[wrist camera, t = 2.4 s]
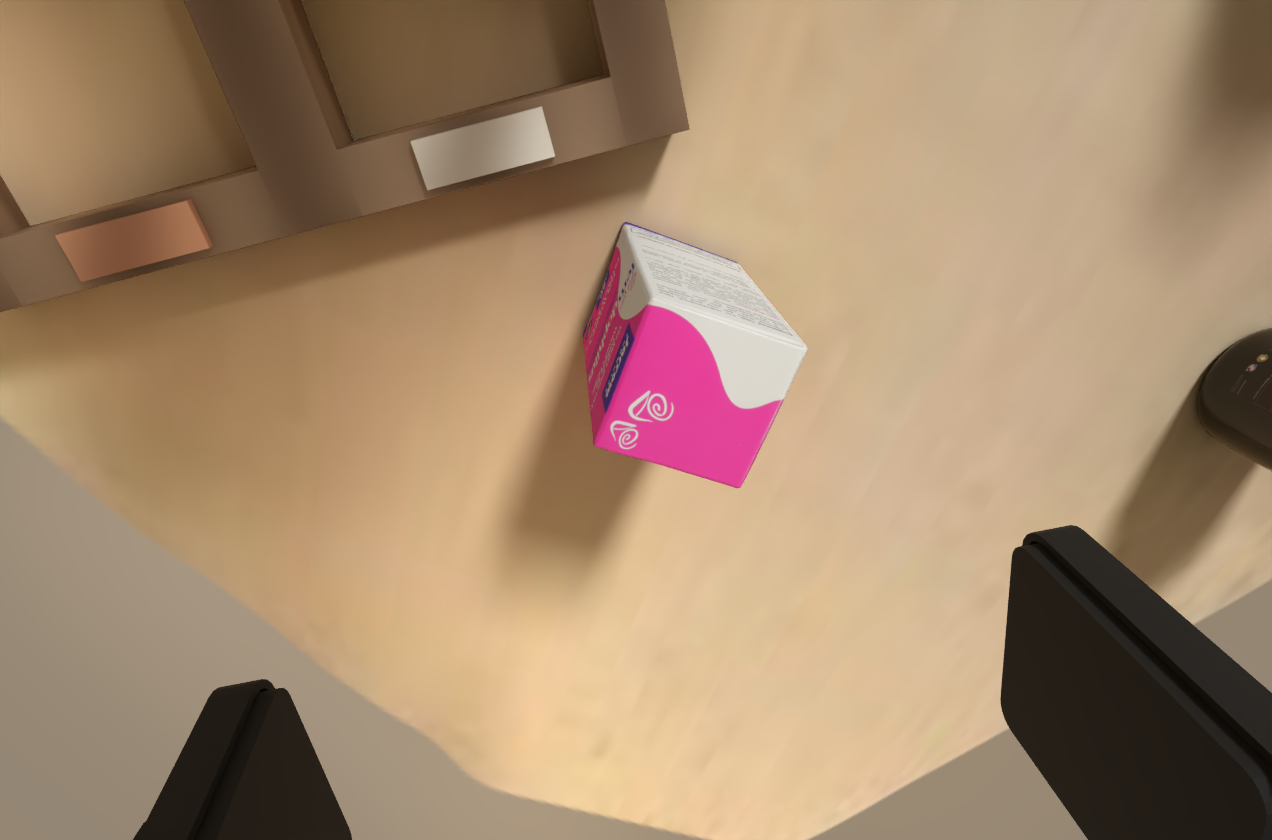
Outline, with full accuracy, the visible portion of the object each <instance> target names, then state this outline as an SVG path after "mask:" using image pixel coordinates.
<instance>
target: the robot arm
mask: <svg viewBox="0 0 1272 840" xmlns="http://www.w3.org/2000/svg"><path fill="white" fill-rule="evenodd" d="M1001 707H1002V712H1003V715H1004V718H1005V720H1006V722H1007V725H1008V726H1009V728H1010V730H1011V731H1012V733H1013V734H1014V735H1015V737H1016V738H1017V740H1018V741H1019V742H1020V744H1021V745H1022V747H1023V748H1024V750H1026V752H1027V754H1028V755H1029V757H1030V758H1031V759H1032V761H1033V762H1034V764H1035V765H1036V767H1037V768H1038V769H1039V771H1040V772H1041V774H1042V775H1043V776H1044V778H1045V779H1046V781H1047V782H1048V784H1049V785H1050V786H1051V788H1052V789H1053V791H1054V792H1055V793H1056V795H1057V796H1058V798H1059V799H1060V800H1061V802H1062V803H1063V805H1064V806H1065V808H1066V809H1067V810H1068V812H1069V813H1070V815H1071V816H1072V817H1073V819H1074V820H1075V822H1076V823H1077V825H1078V826H1079V827H1080V829H1081V830H1082V832H1083V833H1084V835H1085V836H1086V837H1087V839H1088V840H1272V693H1271V692H1270V691H1269V690H1267V689H1266V688H1265V687H1264V686H1263V685H1261V683H1259V682H1258V681H1257V680H1256V679H1255V678H1253V676H1251V675H1250V674H1249V673H1248V672H1247V671H1245V670H1244V669H1243V668H1242V667H1241V666H1240V665H1239V664H1237V663H1236V662H1235V661H1234V660H1233V659H1232V658H1231V657H1229V656H1228V655H1227V654H1226V653H1225V652H1223V651H1222V650H1221V649H1220V648H1219V647H1218V646H1217V645H1216V644H1214V643H1213V642H1212V641H1211V640H1210V639H1209V638H1207V637H1206V636H1205V635H1204V634H1203V633H1202V632H1200V631H1199V630H1198V629H1197V628H1196V627H1194V625H1192V624H1191V623H1190V622H1189V621H1188V620H1187V619H1185V618H1184V617H1183V616H1182V615H1181V614H1180V613H1179V612H1177V611H1176V610H1175V609H1174V608H1173V607H1172V606H1170V605H1169V604H1168V603H1167V602H1166V601H1165V600H1163V599H1162V598H1161V597H1160V596H1159V595H1158V594H1157V593H1155V592H1154V591H1153V590H1152V589H1151V588H1150V587H1148V586H1147V585H1146V584H1145V583H1144V582H1143V581H1142V580H1140V579H1139V578H1138V577H1137V576H1136V575H1135V574H1133V573H1132V572H1131V571H1130V570H1129V569H1128V568H1126V567H1125V566H1124V565H1123V564H1122V563H1121V562H1120V561H1118V560H1117V559H1116V558H1115V557H1114V556H1113V555H1111V554H1110V553H1109V552H1108V551H1107V550H1106V549H1105V548H1103V547H1102V546H1101V545H1100V544H1099V543H1098V542H1096V541H1095V540H1094V539H1093V538H1092V537H1091V536H1089V535H1088V534H1087V533H1086V532H1085V531H1084V530H1082V529H1081V528H1079V527H1077V526H1072V525H1070V526H1064V527H1059V528H1054V529H1049V530H1043V531H1038V532H1033V533H1030V534H1028V535H1026V537H1025V538H1024V540H1023V545H1022V546H1021V547H1017V548H1015V550H1014V551H1013V555H1012V563H1011V575H1010V588H1009V600H1008V613H1007V625H1006V638H1005V650H1004V662H1003V675H1002V687H1001ZM133 840H352V837H351V833H350V830H349V827H348V825H347V822H346V820H345V818H344V816H343V813H342V811H341V809H340V807H339V804H338V802H337V800H336V798H335V795H334V793H333V791H332V789H331V787H330V784H329V782H328V780H327V778H326V775H325V773H324V771H323V769H322V766H321V764H320V762H319V759H318V757H317V755H316V753H315V750H314V748H313V746H312V743H311V741H310V739H309V737H308V734H307V732H306V730H305V728H304V725H303V723H302V721H301V719H300V716H299V714H298V712H297V710H296V707H295V706H294V703H293V701H292V699H291V696H290V695H289V693H288V691H287V690H286V689H284V688H278V689H275V688H274V686H273V685H272V683H271V682H269V681H268V680H264V679H261V680H256V681H251V682H246V683H240V684H235V685H230V686H225V687H220V688H217V689H216V690H214V691H213V692H212V694H211V695H210V697H209V698H208V700H207V702H206V704H205V706H204V708H203V710H202V712H201V714H200V716H199V718H198V720H197V722H196V724H195V726H194V728H193V730H192V732H191V734H190V736H189V738H188V740H187V742H186V744H185V746H184V748H183V750H182V751H181V753H180V755H179V757H178V760H177V761H176V763H175V766H174V767H173V769H172V771H171V773H170V775H169V777H168V779H167V781H166V783H165V785H164V787H163V789H162V791H161V793H160V795H159V797H158V799H157V801H156V803H155V805H154V807H153V809H152V811H151V813H150V815H149V817H148V819H147V821H146V822H145V823H143V825H142V826H141V828H140V829H139V831H138V832H137V834H136V835H135V837H134V839H133Z"/></svg>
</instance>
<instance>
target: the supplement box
mask: <svg viewBox="0 0 1272 840" xmlns="http://www.w3.org/2000/svg"><path fill="white" fill-rule="evenodd" d="M583 341H584V351H585V361H586V371H587V381H588V390H589V403H590V412H591V421H592V432H593V444H594V446H596V447H599V448H602V449H605V450H608V451H612V452H615V453H619V454H622V455H626V456H630V457H633V458H637V459H641V460H645V461H649V462H653V463H656V464H660V465H663V466H666V467H669V468H673V469H676V470H679V471H683V472H686V473H689V474H693V475H696V476H699V477H702V478H706V479H709V480H712V481H716V482H719V483H722V484H725V485H729V486H732V487H735V488H740V487H741V486H742V484H743V482H744V480H745V478H746V477H747V475H748V473H749V471H750V469H751V467H752V465H753V463H754V461H755V459H756V457H757V454H758V452H759V450H760V448H761V446H762V444H763V442H764V440H765V438H766V436H767V434H768V432H769V430H770V428H771V426H772V424H773V422H774V419H775V417H776V415H777V413H778V411H779V409H780V407H781V405H782V403H783V401H784V398H785V396H786V394H787V392H788V390H789V388H790V386H791V384H792V382H793V379H794V377H795V375H796V373H797V371H798V369H799V367H800V365H801V363H802V360H803V358H804V356H805V354H806V352H807V346H806V345H805V344H804V342H803V341H802V340H801V339H800V338H799V336H798V335H797V334H796V333H795V332H794V331H793V329H792V328H791V327H790V326H789V324H788V323H787V322H786V321H785V320H784V319H783V317H782V316H781V315H780V314H779V313H778V312H777V310H776V309H775V308H774V306H773V305H772V304H771V303H770V302H769V301H768V299H767V298H766V297H765V295H764V294H763V293H762V292H761V291H760V289H759V288H758V287H757V286H756V284H755V283H754V282H753V281H752V280H751V278H750V277H749V276H748V275H747V274H746V272H745V271H744V270H743V269H742V267H741V266H740V265H739V264H738V263H737V262H734V261H731V260H729V259H727V258H724V257H721V256H718V255H716V254H713V253H710V252H707V251H705V250H702V249H699V248H697V247H694V246H691V245H689V244H686V243H683V242H680V241H678V240H675V239H672V238H669V237H667V236H664V235H661V234H658V233H656V232H653V231H650V230H647V229H645V228H642V227H639V226H637V225H634V224H631V223H627V222H625V223H623V225H622V227H621V230H620V234H619V237H618V240H617V244H616V247H615V250H614V254H613V257H612V260H611V263H610V265H609V268H608V271H607V274H606V276H605V279H604V282H603V284H602V287H601V290H600V293H599V296H598V298H597V301H596V303H595V306H594V309H593V312H592V314H591V317H590V319H589V321H588V323H587V326H586V329H585V331H584V333H583Z"/></svg>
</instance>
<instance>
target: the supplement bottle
mask: <svg viewBox="0 0 1272 840" xmlns="http://www.w3.org/2000/svg"><path fill="white" fill-rule="evenodd" d="M1198 412H1199V417H1200V420H1201V422H1202V425H1203V427H1204V428H1205V430H1206V431H1207V432H1208V433H1209V434H1210V435H1211V436H1212V437H1213V438H1214V439H1216V440H1217V441H1219V442H1220V443H1222V444H1224V445H1226V446H1227V447H1229V448H1231V449H1232V450H1234V451H1236V452H1238V453H1239V454H1241V455H1243V456H1245V457H1247V458H1248V459H1250V460H1252V461H1254V462H1256V463H1257V464H1259V465H1261V466H1263V467H1264V468H1266V469H1268V470H1270V471H1272V328H1269V329H1265V330H1261V331H1258V332H1256V333H1253V334H1251V335H1249V336H1247V337H1245V338H1243V339H1241V340H1239V341H1238V342H1236V343H1235V344H1234V345H1232V346H1231V347H1230V348H1228V349H1227V350H1226V351H1225V352H1224V353H1223V354H1222V355H1221V356H1220V357H1219V358H1218V359H1217V360H1216V361H1215V363H1214V364H1213V365H1212V367H1211V368H1210V370H1209V371H1208V373H1207V375H1206V377H1205V379H1204V381H1203V383H1202V386H1201V389H1200V393H1199V398H1198Z"/></svg>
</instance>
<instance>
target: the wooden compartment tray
mask: <svg viewBox="0 0 1272 840" xmlns="http://www.w3.org/2000/svg"><path fill="white" fill-rule="evenodd" d="M184 2H185V5H186V7H187V9H188V11H189V14H190V16H191V18H192V20H193V23H194V25H195V27H196V30H197V32H198V34H199V36H200V39H201V41H202V43H203V46H204V48H205V50H206V52H207V55H208V57H209V59H210V62H211V64H212V66H213V68H214V71H215V73H216V75H217V78H218V80H219V82H220V84H221V87H222V89H223V91H224V93H225V96H226V98H227V100H228V103H229V105H230V107H231V109H232V112H233V114H234V116H235V119H236V121H237V123H238V125H239V128H240V130H241V132H242V135H243V137H244V139H245V141H246V144H247V146H248V148H249V151H250V153H251V155H252V157H253V160H254V162H255V164H256V166H257V167H253V168H249V169H245V170H242V171H238V172H234V173H230V174H226V175H223V176H219V177H215V178H211V179H208V180H204V181H200V182H196V183H192V184H189V185H185V186H181V187H177V188H174V189H170V190H166V191H162V192H158V193H155V194H151V195H147V196H143V197H140V198H136V199H132V200H128V201H124V202H121V203H117V204H113V205H109V206H106V207H102V208H98V209H94V210H90V211H87V212H83V213H79V214H75V215H72V216H68V217H64V218H60V219H56V220H53V221H49V222H45V223H41V224H38V225H34V226H30V225H29V224H28V222H27V220H26V219H25V217H24V215H23V213H22V212H21V210H20V208H19V207H18V205H17V203H16V201H15V200H14V198H13V196H12V195H11V193H10V191H9V189H8V188H7V186H6V184H5V183H4V181H3V179H2V177H1V176H0V312H2V311H6V310H10V309H14V308H17V307H21V306H25V305H29V304H33V303H36V302H40V301H44V300H48V299H51V298H55V297H59V296H63V295H66V294H70V293H74V292H78V291H82V290H85V289H89V288H93V287H97V286H100V285H104V284H108V283H112V282H116V281H119V280H123V279H127V278H131V277H134V276H138V275H142V274H146V273H150V272H153V271H157V270H161V269H165V268H168V267H172V266H176V265H180V264H183V263H187V262H191V261H195V260H199V259H202V258H206V257H210V256H214V255H217V254H221V253H225V252H229V251H233V250H236V249H240V248H244V247H248V246H251V245H255V244H259V243H263V242H267V241H270V240H274V239H278V238H282V237H285V236H289V235H293V234H297V233H301V232H304V231H308V230H312V229H316V228H319V227H323V226H327V225H331V224H334V223H338V222H342V221H346V220H350V219H353V218H357V217H361V216H365V215H368V214H372V213H376V212H380V211H384V210H387V209H391V208H395V207H399V206H402V205H406V204H410V203H414V202H418V201H421V200H425V199H429V198H433V197H436V196H440V195H444V194H448V193H452V192H455V191H459V190H463V189H467V188H470V187H474V186H478V185H482V184H485V183H489V182H493V181H497V180H501V179H504V178H508V177H512V176H516V175H519V174H523V173H527V172H531V171H535V170H538V169H542V168H546V167H550V166H553V165H557V164H561V163H565V162H569V161H572V160H576V159H580V158H584V157H587V156H591V155H595V154H599V153H602V152H606V151H610V150H614V149H618V148H621V147H625V146H629V145H633V144H636V143H640V142H644V141H648V140H652V139H655V138H659V137H663V136H667V135H670V134H674V133H678V132H682V131H686V130H689V124H688V119H687V114H686V109H685V104H684V98H683V93H682V88H681V83H680V78H679V73H678V67H677V62H676V57H675V52H674V47H673V42H672V36H671V31H670V26H669V21H668V16H667V10H666V5H665V0H587V2H588V6H589V10H590V15H591V19H592V23H593V28H594V32H595V36H596V40H597V45H598V49H599V53H600V58H601V62H602V66H603V71H604V75H600V76H597V77H593V78H589V79H585V80H582V81H578V82H574V83H570V84H566V85H563V86H559V87H555V88H551V89H548V90H544V91H540V92H536V93H532V94H529V95H525V96H521V97H517V98H514V99H510V100H506V101H502V102H498V103H495V104H491V105H487V106H483V107H480V108H476V109H472V110H468V111H464V112H461V113H457V114H453V115H449V116H446V117H442V118H438V119H434V120H430V121H427V122H423V123H419V124H415V125H412V126H408V127H404V128H400V129H396V130H393V131H389V132H385V133H381V134H378V135H374V136H370V137H366V138H362V139H359V140H355V141H353V139H352V136H351V133H350V131H349V128H348V125H347V123H346V120H345V117H344V115H343V112H342V110H341V107H340V104H339V102H338V99H337V96H336V94H335V91H334V88H333V86H332V83H331V81H330V78H329V75H328V73H327V70H326V67H325V65H324V62H323V59H322V57H321V54H320V51H319V49H318V46H317V44H316V41H315V38H314V36H313V33H312V30H311V28H310V25H309V22H308V20H307V17H306V15H305V12H304V9H303V7H302V4H301V1H300V0H184Z"/></svg>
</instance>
